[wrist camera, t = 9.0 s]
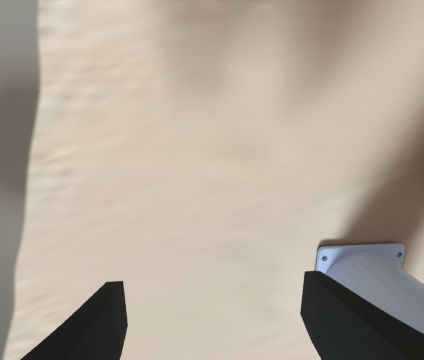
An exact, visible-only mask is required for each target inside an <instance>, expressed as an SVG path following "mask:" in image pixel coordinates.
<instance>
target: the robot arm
mask: <svg viewBox="0 0 424 360" xmlns="http://www.w3.org/2000/svg"><path fill="white" fill-rule="evenodd" d="M404 254H405V246H404V245H402V244H401V243H387V244H365V245H343V246H323V247H321V248H319V250H318V254H317V263H316V271H305V275H304V284H303V294H302V303H301V312H300V314H301V317H302V319H303V322H304V324H305V327H306V329H307V332H308V334H309V336H310V339H311V341H312V343H313V345H314V347H315V348H316V350H317V352H318V354H319V356H320V358H321V359H322V360H424V284H423V283H421V282H420V281H419V280H417V279H416V278H414V277H413V276H412V275H410V274H409V273H407V272H406V271H404V270H403V269H402V263H403V259H404ZM323 256H325V258H323V259H322V257H323ZM127 326H128V323H127V313H126V304H125V295H124V285H123V281H116V282H106V283H105V284H104V285H103V286H102V287H101V288H100V289H99V290H98V291H97V292H96V293H94V294H93V295H92V296H91V297H90V298H89V299H88V300H87V301H86V302H85V303H84V304H83V305H82V306H81V307H80V308H79V309H78V310H77V311H76V312H74V313H73V314H72V315H71V316H70V317H69V318H68V319H67V320H66V321H65V322H64V323H63V324H62V325H60V326H59V327H58V328H57V329H56V330H55V331H53V332H52V333H51V334H50V335H49V336H48V337H46V338H45V339H44V340H43V341H42V342H41V343H40V344H38V345H37V346H36V347H35V348H34V349H33V350H31V351H30V352H29V353H28V354H27V355H25V356H24V357H23V358H22V359H20V360H120V357H121V353H122V349H123V345H124V340H125V336H126V331H127Z"/></svg>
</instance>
